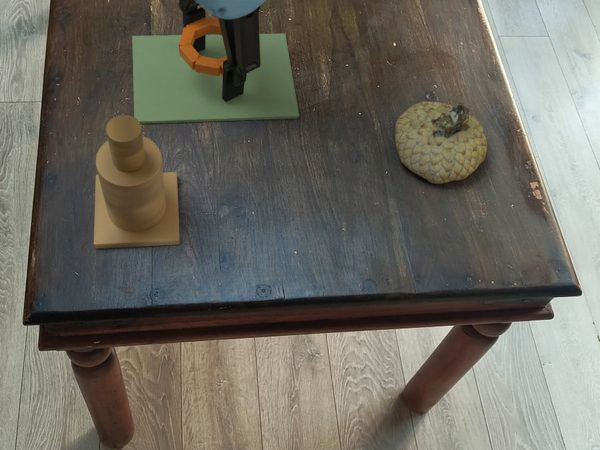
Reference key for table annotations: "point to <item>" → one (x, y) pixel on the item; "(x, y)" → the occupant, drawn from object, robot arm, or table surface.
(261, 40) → the mat
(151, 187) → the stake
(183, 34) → the ring
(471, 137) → the acorn cap
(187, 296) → the table surface
